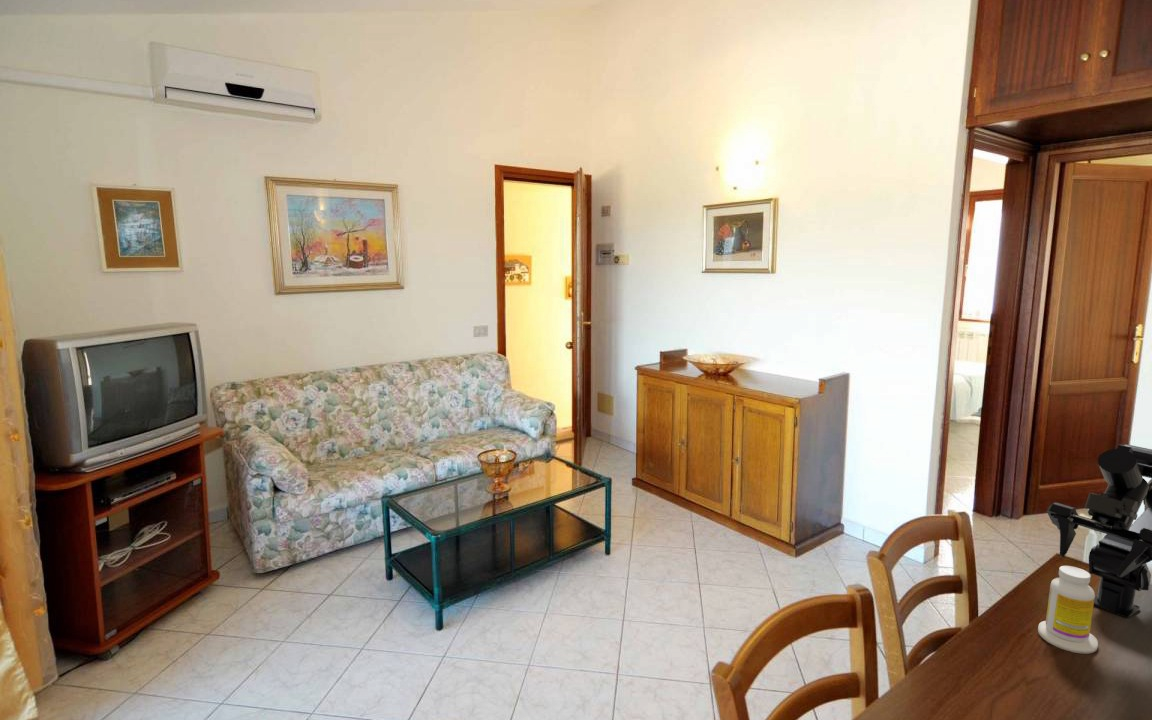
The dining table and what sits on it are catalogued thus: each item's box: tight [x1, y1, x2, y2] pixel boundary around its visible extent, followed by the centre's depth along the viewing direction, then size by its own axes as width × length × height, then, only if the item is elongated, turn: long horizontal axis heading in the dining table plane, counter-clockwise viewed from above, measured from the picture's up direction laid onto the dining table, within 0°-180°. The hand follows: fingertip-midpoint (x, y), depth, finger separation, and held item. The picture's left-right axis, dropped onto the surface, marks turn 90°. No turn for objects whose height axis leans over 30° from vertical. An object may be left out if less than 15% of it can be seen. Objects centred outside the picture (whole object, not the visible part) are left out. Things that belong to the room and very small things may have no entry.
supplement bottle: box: [1045, 565, 1096, 642], centre depth 118 cm, size 7×7×13 cm
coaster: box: [1037, 620, 1099, 655], centre depth 119 cm, size 9×9×1 cm
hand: (1089, 566), depth 119 cm, fingers open, 9 cm apart
